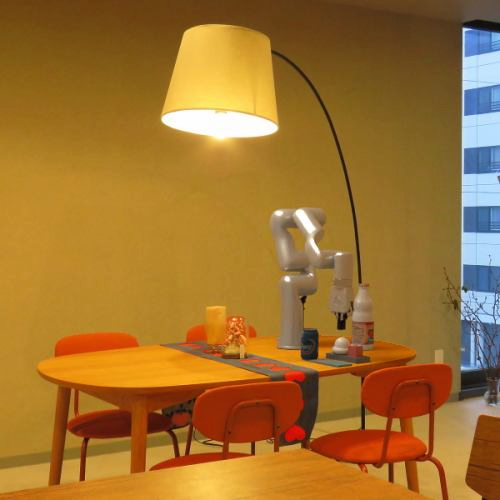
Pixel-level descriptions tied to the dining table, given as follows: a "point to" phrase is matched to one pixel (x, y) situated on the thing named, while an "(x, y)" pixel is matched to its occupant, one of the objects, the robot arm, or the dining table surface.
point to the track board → (330, 362)
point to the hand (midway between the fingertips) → (341, 329)
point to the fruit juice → (363, 319)
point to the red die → (355, 350)
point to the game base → (348, 358)
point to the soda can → (309, 344)
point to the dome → (341, 346)
